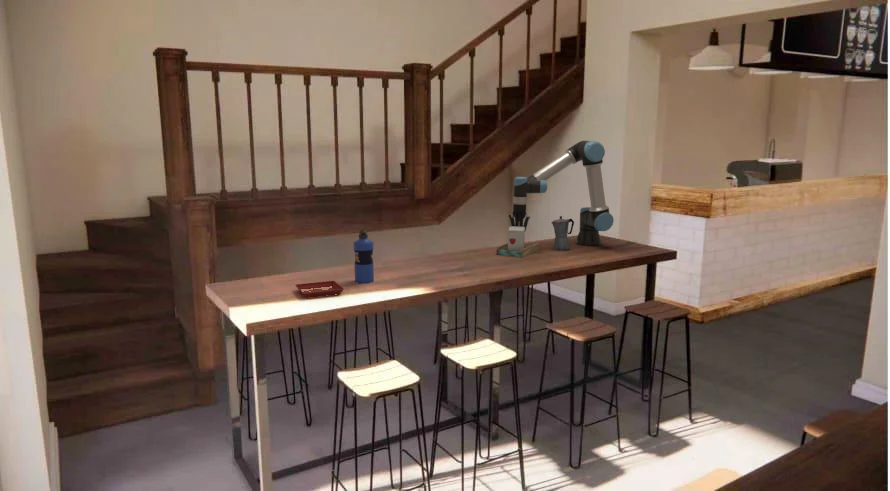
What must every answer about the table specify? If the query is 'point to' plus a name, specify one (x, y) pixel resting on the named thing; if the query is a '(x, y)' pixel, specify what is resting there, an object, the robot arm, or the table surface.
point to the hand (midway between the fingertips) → (518, 243)
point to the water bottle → (363, 259)
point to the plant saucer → (319, 292)
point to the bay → (524, 252)
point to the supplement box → (516, 238)
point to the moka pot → (561, 233)
